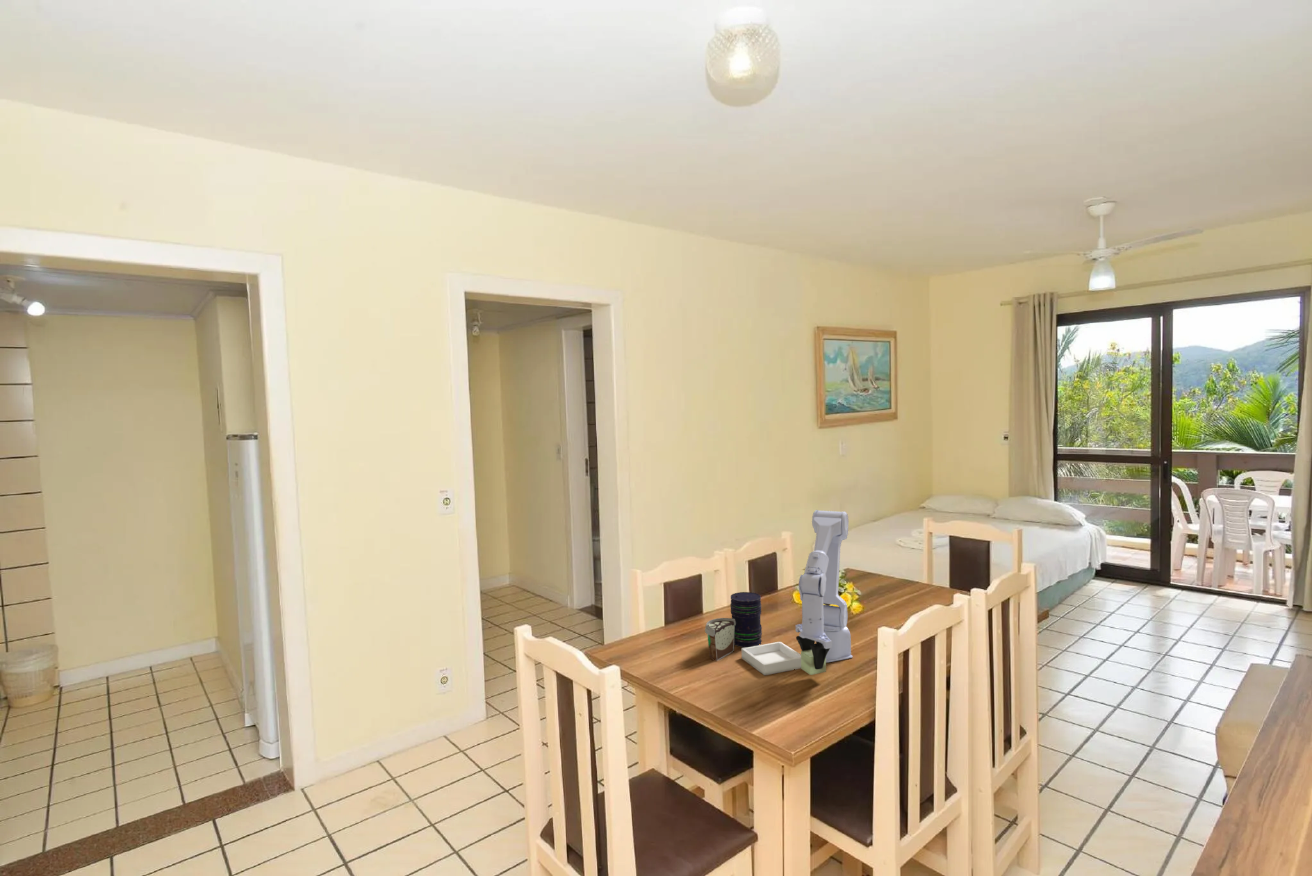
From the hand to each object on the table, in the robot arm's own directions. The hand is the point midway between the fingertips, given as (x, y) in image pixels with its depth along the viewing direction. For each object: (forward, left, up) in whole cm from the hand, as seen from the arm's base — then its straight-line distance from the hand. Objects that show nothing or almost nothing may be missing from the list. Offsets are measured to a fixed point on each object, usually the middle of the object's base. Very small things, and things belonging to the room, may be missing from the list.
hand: (813, 665), depth 180 cm
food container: (+16, -28, -5) cm, 33 cm away
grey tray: (+4, -15, -4) cm, 16 cm away
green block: (0, 0, -2) cm, 2 cm away
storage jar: (+3, -33, -5) cm, 33 cm away
